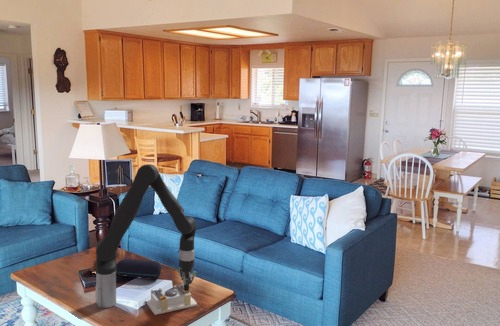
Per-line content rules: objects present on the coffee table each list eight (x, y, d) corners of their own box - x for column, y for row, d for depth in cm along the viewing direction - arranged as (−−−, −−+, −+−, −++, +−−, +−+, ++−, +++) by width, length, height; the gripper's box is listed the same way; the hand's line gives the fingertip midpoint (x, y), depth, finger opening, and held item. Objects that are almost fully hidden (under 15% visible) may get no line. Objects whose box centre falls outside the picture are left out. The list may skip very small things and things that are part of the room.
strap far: (184, 294, 223) (184, 291, 223) (176, 287, 233) (176, 284, 233) (189, 293, 224) (189, 290, 224) (180, 286, 234) (180, 283, 234)
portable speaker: (163, 275, 259) (163, 258, 257) (158, 282, 249) (158, 265, 248) (121, 271, 261) (121, 255, 259) (114, 279, 251) (114, 262, 249)
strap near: (161, 301, 217) (161, 298, 217) (153, 292, 227) (153, 289, 227) (166, 300, 218) (166, 297, 218) (158, 291, 228) (158, 288, 228)
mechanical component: (195, 290, 242) (195, 272, 241) (177, 287, 244) (177, 270, 243) (196, 287, 245) (197, 270, 243) (179, 285, 247) (179, 268, 245)
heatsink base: (154, 314, 215) (154, 302, 214) (145, 301, 228) (145, 289, 226) (197, 305, 226) (197, 293, 225) (185, 292, 239) (186, 281, 237)
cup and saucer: (88, 269, 262) (88, 259, 261) (109, 266, 267) (109, 256, 266) (90, 277, 252) (90, 267, 250) (112, 274, 257) (112, 264, 255)
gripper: (174, 254, 225) (174, 286, 228) (184, 263, 214) (184, 297, 217) (188, 251, 229) (188, 283, 232) (199, 260, 217) (198, 294, 220)
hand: (186, 290), depth 224 cm, fingers closed
